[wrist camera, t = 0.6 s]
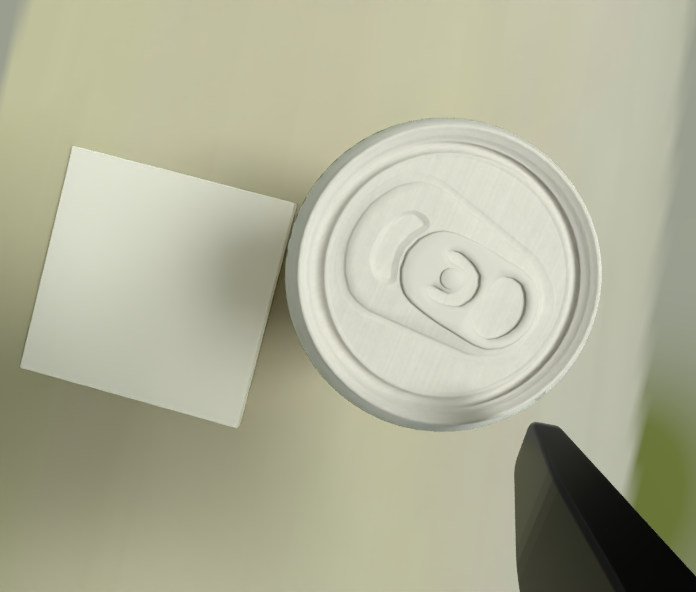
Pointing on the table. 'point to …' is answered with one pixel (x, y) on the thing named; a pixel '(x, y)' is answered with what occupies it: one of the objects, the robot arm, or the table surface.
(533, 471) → the robot arm
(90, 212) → the mat
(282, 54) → the table surface
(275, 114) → the table surface
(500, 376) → the beer can
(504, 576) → the table surface
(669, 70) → the table surface
